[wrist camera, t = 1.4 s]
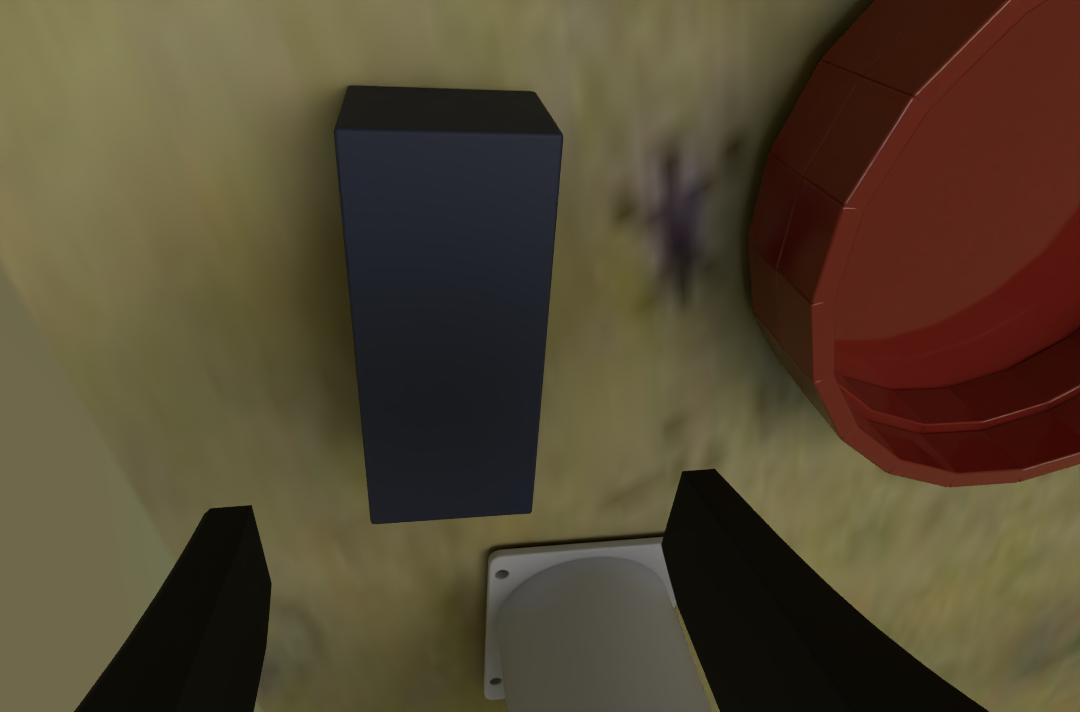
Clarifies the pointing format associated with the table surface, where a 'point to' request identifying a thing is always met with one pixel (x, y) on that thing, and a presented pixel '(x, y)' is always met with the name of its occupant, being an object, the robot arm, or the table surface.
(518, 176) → the dark blue-grey block
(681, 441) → the table surface
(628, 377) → the table surface
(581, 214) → the table surface
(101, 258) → the table surface
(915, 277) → the bowl
